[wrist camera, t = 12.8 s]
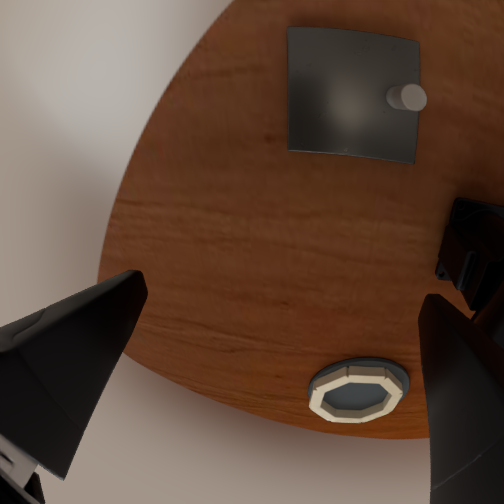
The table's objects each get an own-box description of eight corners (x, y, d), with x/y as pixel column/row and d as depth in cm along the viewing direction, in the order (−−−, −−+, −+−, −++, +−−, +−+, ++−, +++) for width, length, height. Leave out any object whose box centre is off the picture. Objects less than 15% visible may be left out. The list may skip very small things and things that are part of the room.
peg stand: (414, 44, 12) (440, 30, 8) (410, 161, 16) (433, 180, 12) (288, 29, 14) (277, 9, 10) (289, 148, 18) (279, 162, 14)
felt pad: (424, 358, 24) (425, 362, 23) (389, 415, 29) (389, 418, 29) (315, 352, 26) (315, 356, 25) (302, 410, 31) (302, 413, 31)
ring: (412, 367, 24) (413, 377, 23) (383, 415, 29) (383, 423, 28) (318, 362, 26) (317, 372, 25) (306, 411, 30) (305, 419, 29)
